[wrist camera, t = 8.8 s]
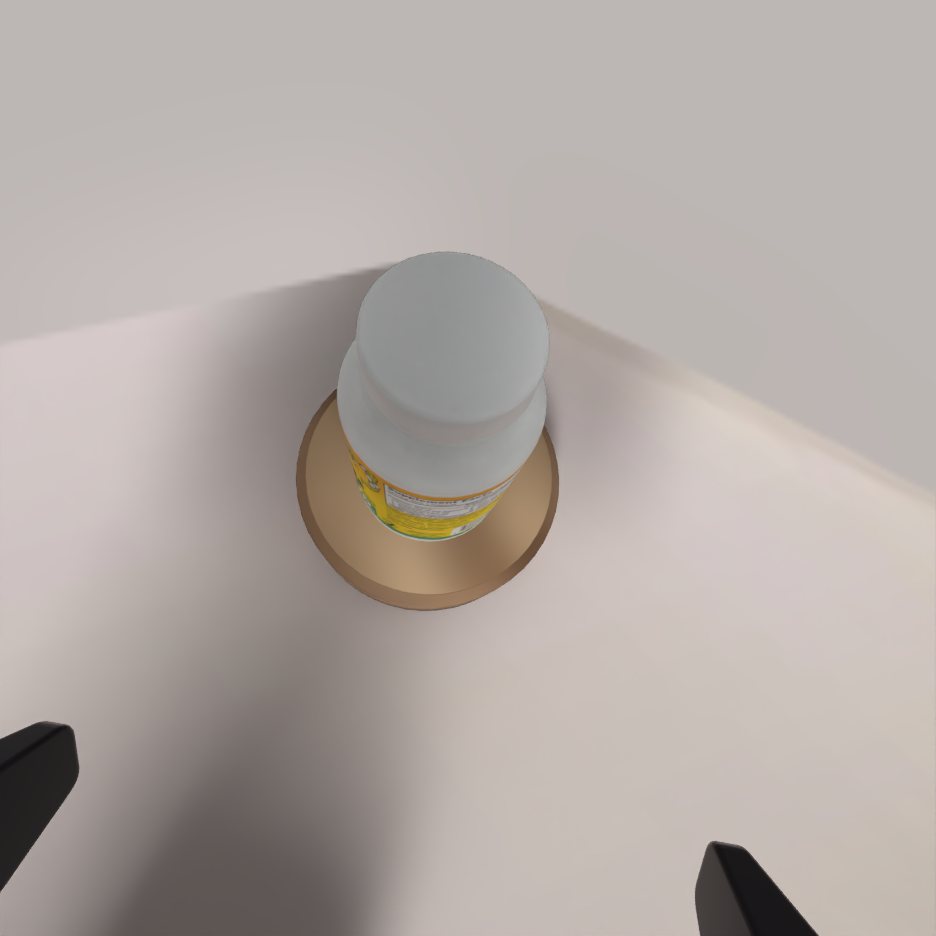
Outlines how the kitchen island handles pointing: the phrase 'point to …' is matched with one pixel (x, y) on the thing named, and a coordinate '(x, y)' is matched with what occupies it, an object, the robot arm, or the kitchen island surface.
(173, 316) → the kitchen island surface
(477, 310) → the supplement bottle
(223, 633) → the kitchen island surface
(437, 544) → the pedestal
